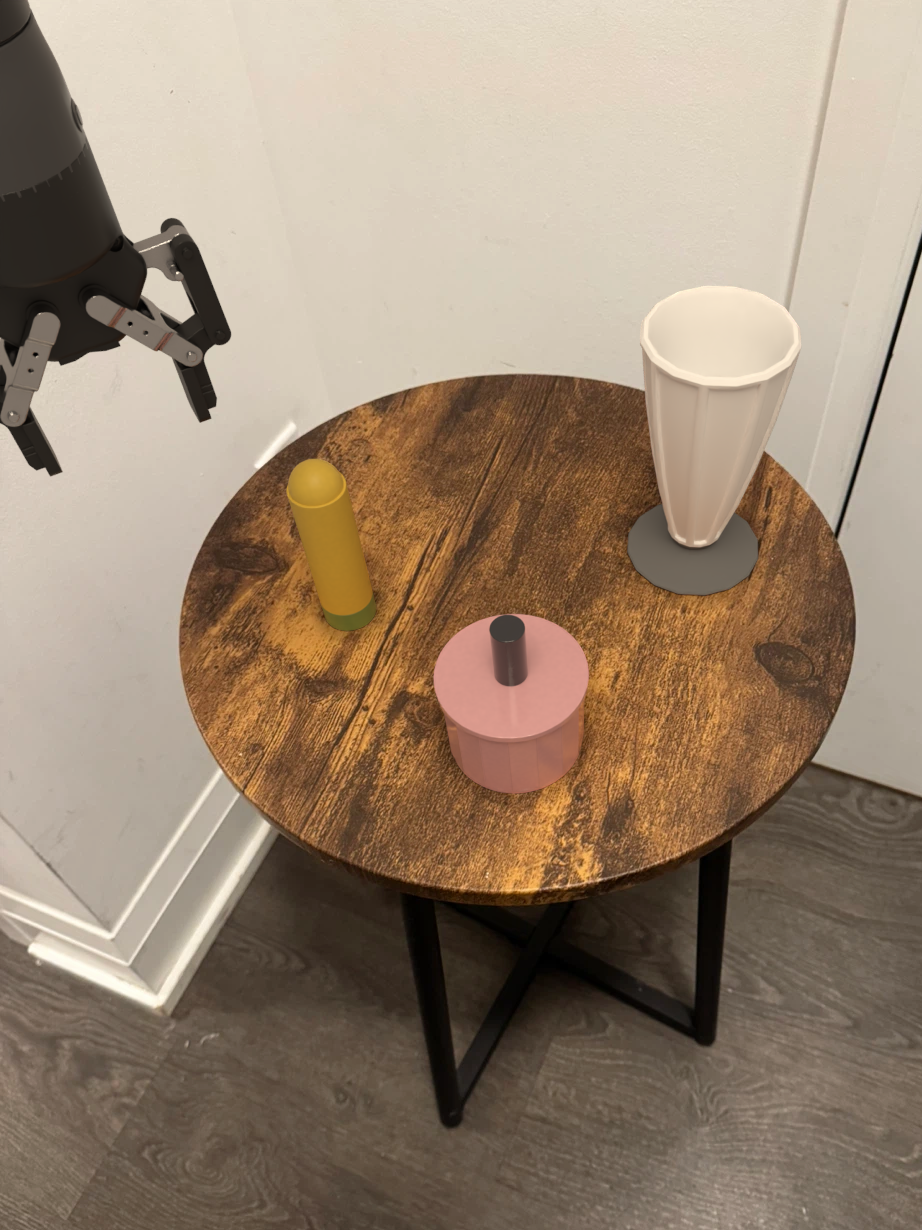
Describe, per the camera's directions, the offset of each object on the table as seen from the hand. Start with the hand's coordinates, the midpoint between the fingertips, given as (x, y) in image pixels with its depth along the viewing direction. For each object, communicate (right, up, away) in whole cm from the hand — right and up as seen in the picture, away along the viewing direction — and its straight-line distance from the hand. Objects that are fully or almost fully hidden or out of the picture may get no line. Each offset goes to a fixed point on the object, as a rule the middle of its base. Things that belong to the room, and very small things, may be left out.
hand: (128, 439), depth 58 cm
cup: (+36, -1, +33) cm, 49 cm away
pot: (+21, -17, +22) cm, 35 cm away
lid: (+21, -13, +16) cm, 29 cm away
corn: (+7, -7, +29) cm, 31 cm away
